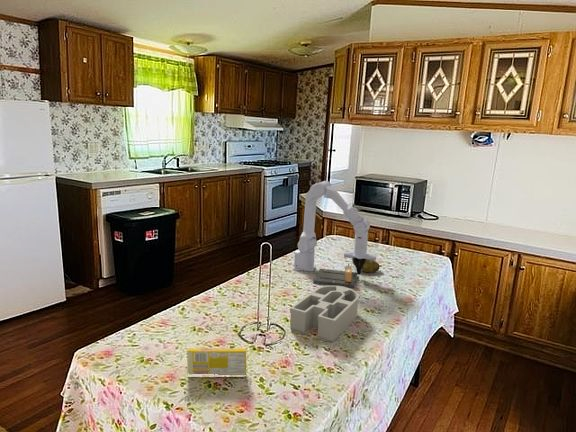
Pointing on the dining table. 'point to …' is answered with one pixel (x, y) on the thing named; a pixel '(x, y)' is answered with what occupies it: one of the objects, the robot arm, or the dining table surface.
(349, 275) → the fader near
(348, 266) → the fader far
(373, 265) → the potato
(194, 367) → the candy box
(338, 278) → the console
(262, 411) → the dining table surface
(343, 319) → the grey compartment organizer
